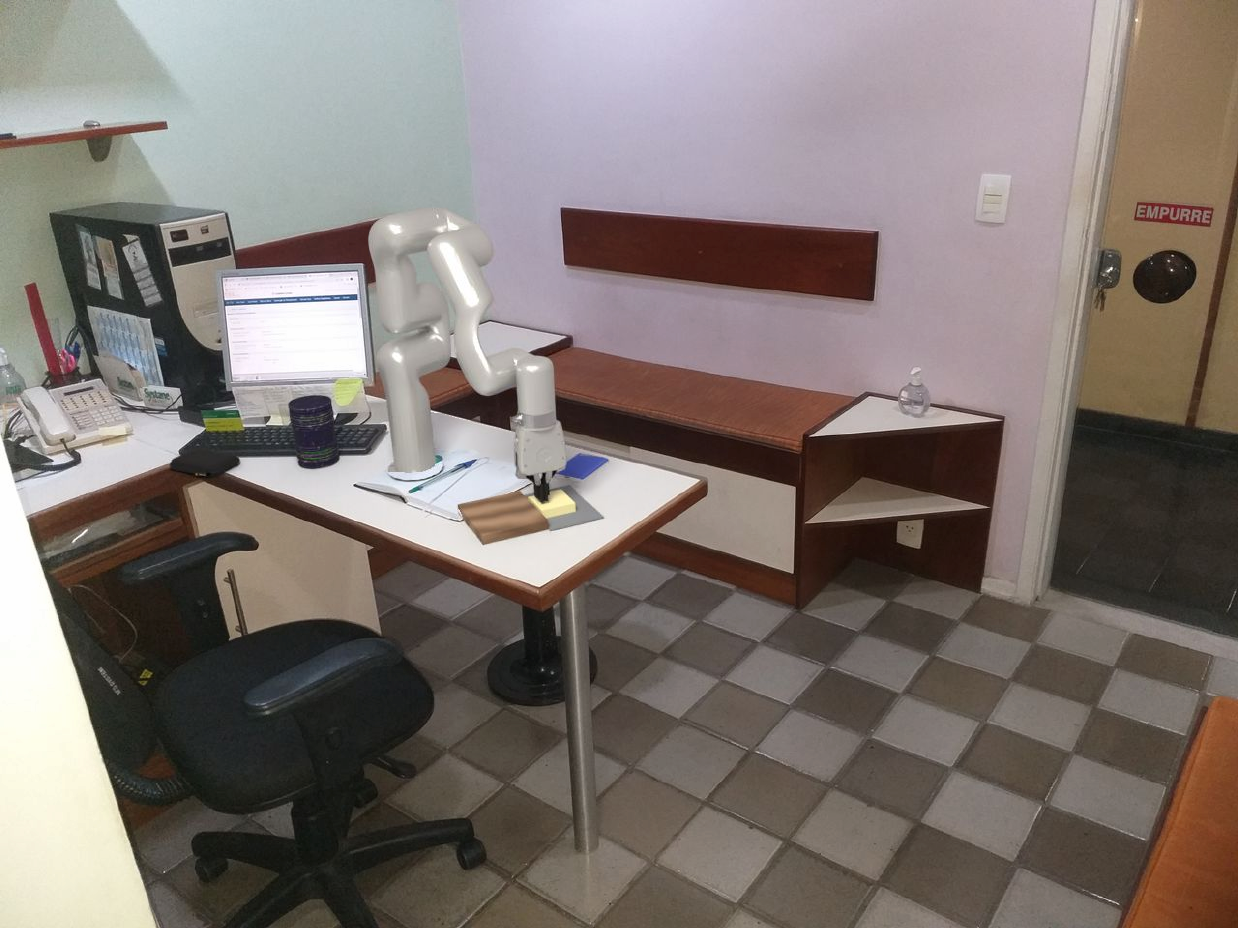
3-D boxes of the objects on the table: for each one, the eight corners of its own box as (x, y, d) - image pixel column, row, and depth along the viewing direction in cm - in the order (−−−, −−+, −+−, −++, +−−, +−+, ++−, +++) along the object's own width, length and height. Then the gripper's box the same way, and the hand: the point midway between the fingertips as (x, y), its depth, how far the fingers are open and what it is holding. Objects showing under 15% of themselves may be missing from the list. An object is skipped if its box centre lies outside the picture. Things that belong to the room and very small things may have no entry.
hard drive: (578, 452, 230) (551, 471, 220) (608, 458, 227) (582, 478, 217) (578, 458, 231) (551, 478, 221) (609, 464, 227) (582, 484, 218)
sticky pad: (528, 505, 206) (528, 496, 206) (561, 497, 209) (561, 489, 209) (542, 519, 200) (541, 510, 199) (575, 511, 203) (575, 503, 202)
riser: (458, 512, 204) (457, 504, 203) (520, 499, 210) (519, 490, 209) (483, 544, 191) (482, 535, 190) (548, 529, 197) (548, 520, 196)
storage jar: (335, 468, 227) (326, 408, 221) (293, 470, 227) (282, 410, 221) (343, 451, 236) (335, 394, 230) (303, 453, 236) (293, 395, 230)
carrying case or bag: (163, 473, 227) (211, 483, 222) (160, 461, 226) (209, 470, 221) (197, 456, 236) (244, 465, 231) (195, 445, 235) (242, 453, 230)
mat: (518, 497, 211) (518, 496, 211) (569, 486, 215) (569, 484, 215) (550, 531, 196) (550, 529, 196) (604, 518, 201) (604, 517, 200)
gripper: (509, 430, 189) (514, 514, 197) (578, 417, 195) (582, 498, 203) (496, 418, 196) (502, 500, 203) (564, 405, 202) (567, 485, 209)
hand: (542, 499), depth 203 cm, fingers closed
